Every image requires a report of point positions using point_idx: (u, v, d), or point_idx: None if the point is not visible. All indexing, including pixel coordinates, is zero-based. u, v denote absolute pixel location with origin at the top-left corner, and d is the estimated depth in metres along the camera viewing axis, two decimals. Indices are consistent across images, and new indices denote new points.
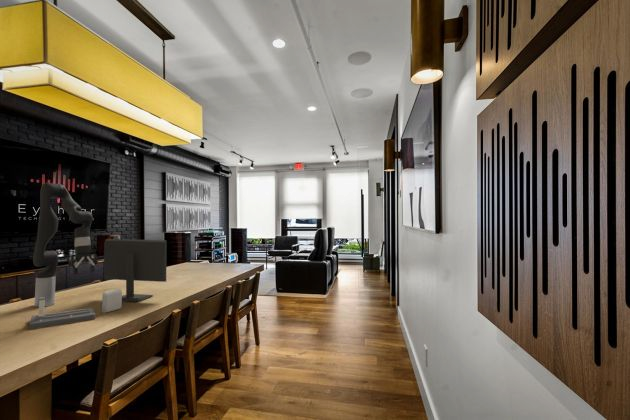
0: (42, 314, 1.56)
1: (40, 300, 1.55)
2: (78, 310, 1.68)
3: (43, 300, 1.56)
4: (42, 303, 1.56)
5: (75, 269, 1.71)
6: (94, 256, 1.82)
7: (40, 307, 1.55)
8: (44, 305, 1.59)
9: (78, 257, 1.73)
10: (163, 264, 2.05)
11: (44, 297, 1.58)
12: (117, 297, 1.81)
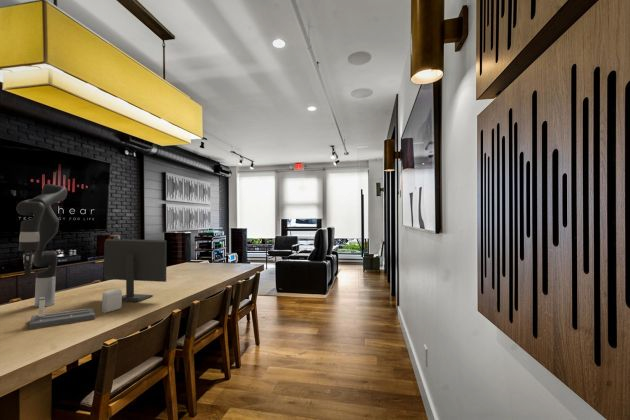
0: (42, 314, 1.56)
1: (40, 300, 1.55)
2: (78, 310, 1.68)
3: (43, 300, 1.56)
4: (42, 303, 1.56)
5: None
6: None
7: (40, 307, 1.55)
8: (44, 305, 1.59)
9: None
10: (163, 264, 2.05)
11: (44, 297, 1.58)
12: (117, 297, 1.81)
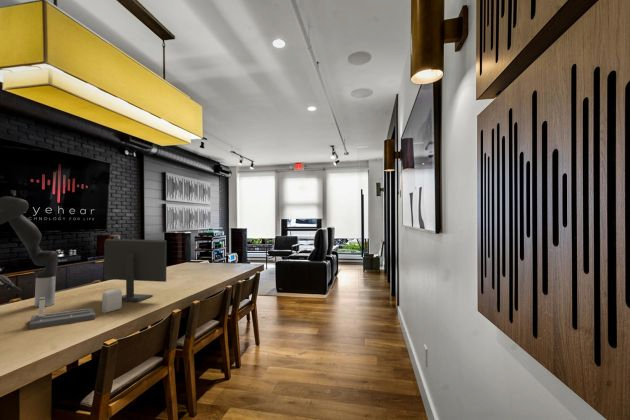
0: (42, 314, 1.56)
1: (40, 300, 1.55)
2: (78, 310, 1.68)
3: (43, 300, 1.56)
4: (42, 303, 1.56)
5: None
6: None
7: (40, 307, 1.55)
8: (44, 305, 1.59)
9: None
10: (163, 264, 2.05)
11: (44, 297, 1.58)
12: (117, 297, 1.81)
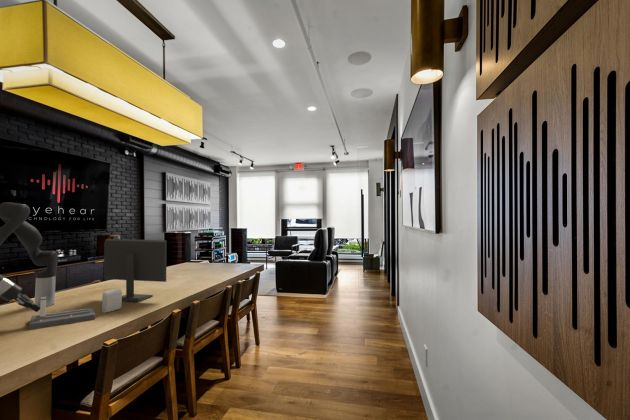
0: (43, 314, 1.56)
1: (41, 300, 1.56)
2: (78, 310, 1.68)
3: (44, 300, 1.56)
4: (43, 303, 1.56)
5: None
6: None
7: (41, 307, 1.56)
8: None
9: None
10: (163, 264, 2.05)
11: (45, 297, 1.59)
12: (117, 297, 1.81)
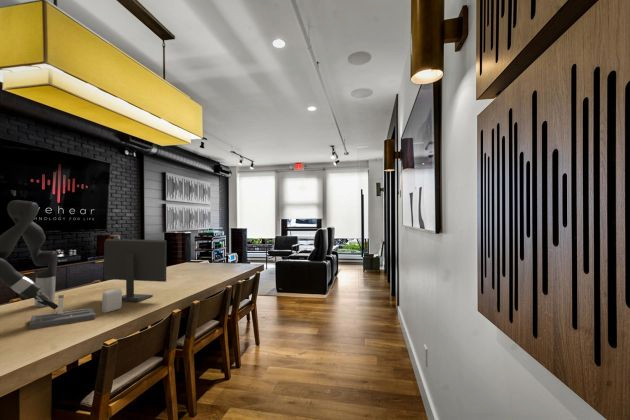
0: (61, 311, 1.61)
1: (59, 298, 1.60)
2: (78, 310, 1.68)
3: (62, 298, 1.61)
4: (61, 301, 1.61)
5: None
6: None
7: (59, 305, 1.60)
8: None
9: None
10: (163, 264, 2.05)
11: (63, 295, 1.63)
12: (117, 297, 1.81)
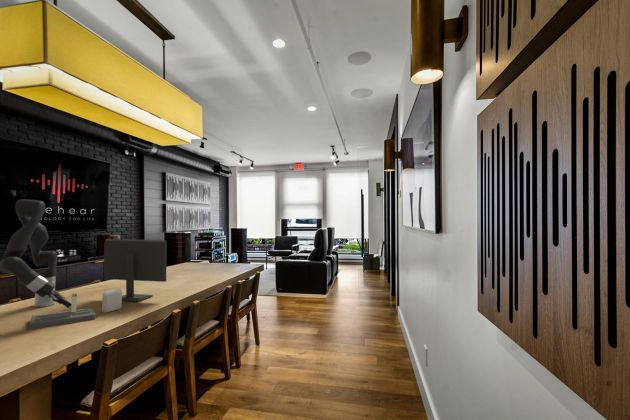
0: (74, 310, 1.64)
1: (73, 296, 1.64)
2: (78, 310, 1.68)
3: (75, 296, 1.64)
4: (74, 299, 1.64)
5: None
6: None
7: (73, 303, 1.64)
8: None
9: None
10: (163, 264, 2.05)
11: (76, 294, 1.67)
12: (117, 297, 1.81)
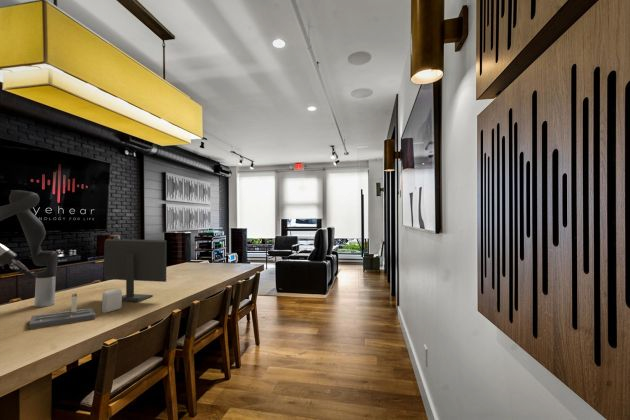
0: (75, 310, 1.64)
1: (73, 296, 1.64)
2: (78, 310, 1.68)
3: (76, 296, 1.64)
4: (75, 299, 1.64)
5: None
6: None
7: (73, 303, 1.64)
8: None
9: None
10: (163, 264, 2.05)
11: (76, 294, 1.67)
12: (117, 297, 1.81)
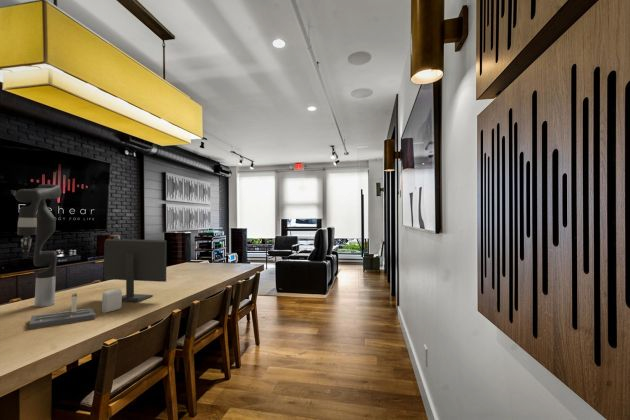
0: (75, 310, 1.64)
1: (73, 296, 1.64)
2: (78, 310, 1.68)
3: (76, 296, 1.64)
4: (75, 299, 1.64)
5: None
6: None
7: (73, 303, 1.64)
8: None
9: None
10: (163, 264, 2.05)
11: (76, 294, 1.67)
12: (117, 297, 1.81)
